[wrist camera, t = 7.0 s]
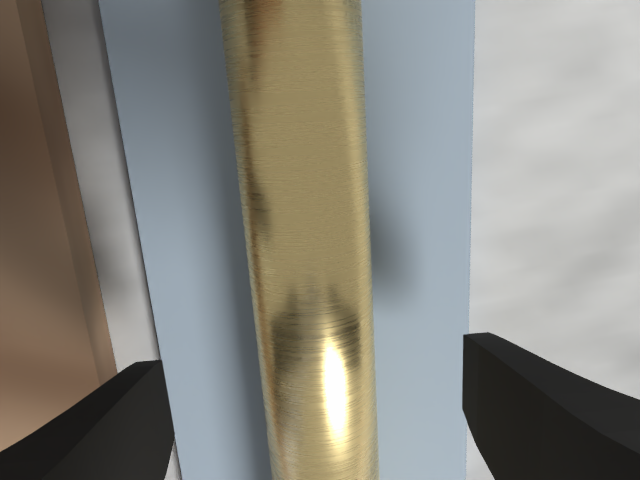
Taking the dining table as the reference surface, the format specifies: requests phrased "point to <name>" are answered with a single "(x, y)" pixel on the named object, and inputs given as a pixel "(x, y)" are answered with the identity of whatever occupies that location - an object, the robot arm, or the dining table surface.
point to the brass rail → (307, 228)
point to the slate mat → (229, 239)
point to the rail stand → (42, 242)
